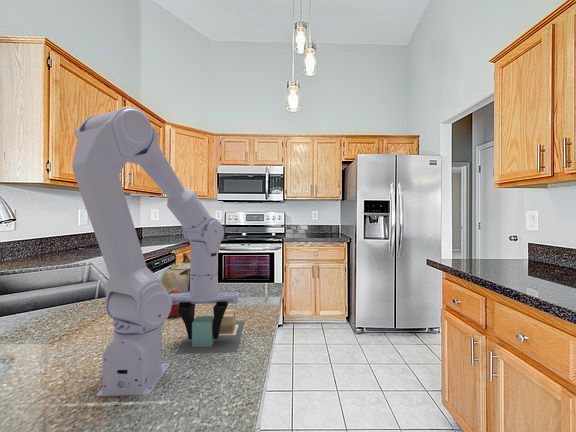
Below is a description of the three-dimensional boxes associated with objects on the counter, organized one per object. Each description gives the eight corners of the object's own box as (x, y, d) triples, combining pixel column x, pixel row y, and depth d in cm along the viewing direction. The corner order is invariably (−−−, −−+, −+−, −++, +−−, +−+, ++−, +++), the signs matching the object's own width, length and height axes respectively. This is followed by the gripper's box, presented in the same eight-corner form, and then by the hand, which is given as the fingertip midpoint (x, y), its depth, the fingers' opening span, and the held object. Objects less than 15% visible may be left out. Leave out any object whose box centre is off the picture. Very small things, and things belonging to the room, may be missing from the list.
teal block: (211, 346, 62) (211, 322, 62) (192, 346, 62) (192, 322, 62) (215, 338, 66) (215, 315, 66) (196, 338, 66) (196, 316, 66)
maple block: (232, 333, 69) (232, 316, 69) (210, 334, 69) (210, 316, 69) (235, 325, 74) (235, 309, 74) (214, 326, 74) (214, 309, 74)
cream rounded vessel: (158, 293, 107) (158, 251, 107) (200, 288, 114) (200, 249, 114) (165, 308, 90) (165, 258, 90) (215, 301, 97) (215, 255, 97)
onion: (177, 322, 78) (178, 291, 78) (158, 320, 79) (158, 290, 79) (189, 314, 84) (189, 286, 84) (170, 313, 85) (171, 285, 85)
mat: (236, 354, 59) (236, 352, 59) (174, 356, 59) (174, 353, 59) (244, 322, 77) (244, 320, 77) (197, 323, 77) (197, 321, 77)
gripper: (240, 270, 68) (240, 329, 68) (175, 270, 68) (175, 330, 68) (236, 276, 61) (236, 342, 61) (164, 276, 61) (164, 344, 61)
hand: (204, 337), depth 64 cm, fingers open, 5 cm apart
